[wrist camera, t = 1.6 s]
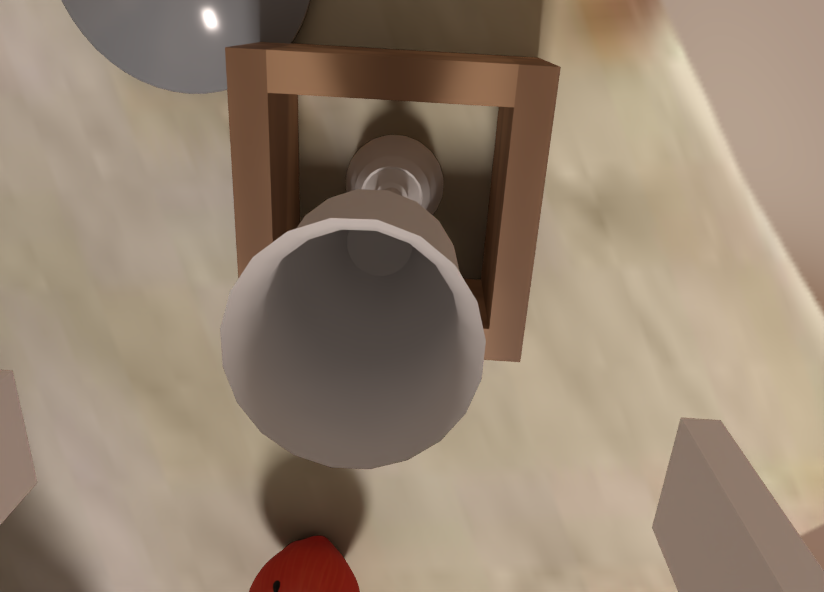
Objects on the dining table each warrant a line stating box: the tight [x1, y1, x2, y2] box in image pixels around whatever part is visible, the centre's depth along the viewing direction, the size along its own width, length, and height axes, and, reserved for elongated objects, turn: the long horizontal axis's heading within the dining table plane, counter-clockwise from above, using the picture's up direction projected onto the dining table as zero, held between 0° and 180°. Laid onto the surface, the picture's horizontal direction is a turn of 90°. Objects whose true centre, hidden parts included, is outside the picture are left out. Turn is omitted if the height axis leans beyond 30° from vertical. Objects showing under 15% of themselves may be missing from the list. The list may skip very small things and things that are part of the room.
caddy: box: [225, 42, 561, 362], centre depth 30 cm, size 13×13×6 cm
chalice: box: [220, 135, 486, 469], centre depth 25 cm, size 7×7×18 cm
